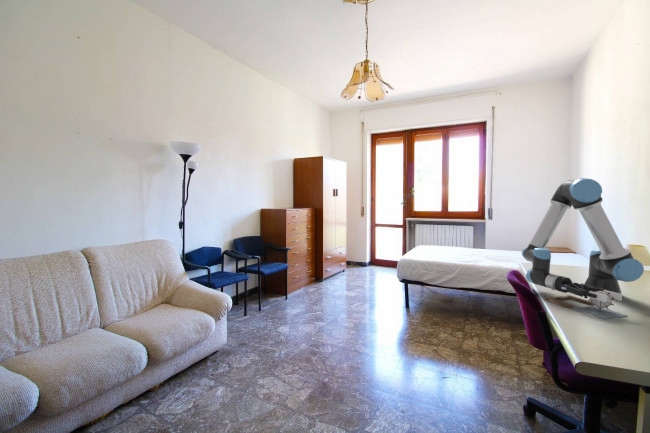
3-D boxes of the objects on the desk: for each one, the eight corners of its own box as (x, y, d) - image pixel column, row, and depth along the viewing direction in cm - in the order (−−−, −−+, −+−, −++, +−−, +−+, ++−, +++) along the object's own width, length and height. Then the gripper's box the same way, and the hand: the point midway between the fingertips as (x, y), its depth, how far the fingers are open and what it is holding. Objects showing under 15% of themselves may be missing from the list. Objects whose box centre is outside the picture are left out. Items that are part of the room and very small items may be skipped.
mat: (595, 306, 140) (595, 305, 140) (627, 316, 129) (627, 315, 129) (573, 308, 136) (573, 308, 136) (604, 319, 125) (604, 318, 125)
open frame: (569, 297, 152) (569, 295, 152) (594, 305, 142) (594, 302, 141) (545, 300, 148) (545, 297, 147) (569, 308, 137) (569, 305, 137)
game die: (605, 317, 131) (624, 304, 125) (584, 309, 133) (602, 295, 126) (598, 302, 138) (616, 289, 132) (579, 294, 139) (596, 281, 133)
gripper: (573, 289, 153) (629, 305, 131) (542, 292, 147) (595, 308, 125) (575, 274, 152) (631, 288, 130) (543, 276, 146) (597, 291, 124)
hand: (613, 298), depth 128 cm, fingers closed on game die, 8 cm apart
